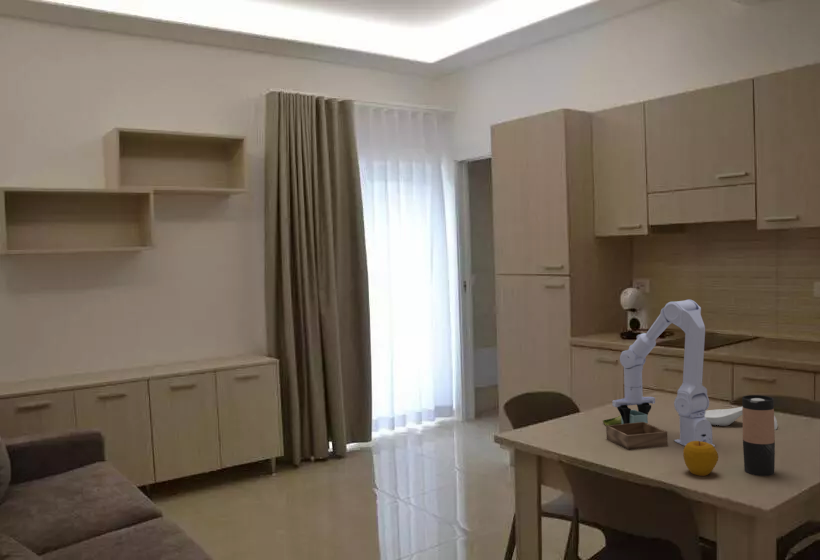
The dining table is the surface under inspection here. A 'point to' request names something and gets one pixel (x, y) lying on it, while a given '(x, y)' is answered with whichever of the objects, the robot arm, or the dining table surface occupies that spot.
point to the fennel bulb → (613, 421)
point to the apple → (700, 457)
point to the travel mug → (758, 435)
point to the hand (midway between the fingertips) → (634, 426)
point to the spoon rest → (726, 416)
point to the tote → (637, 417)
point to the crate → (636, 435)
